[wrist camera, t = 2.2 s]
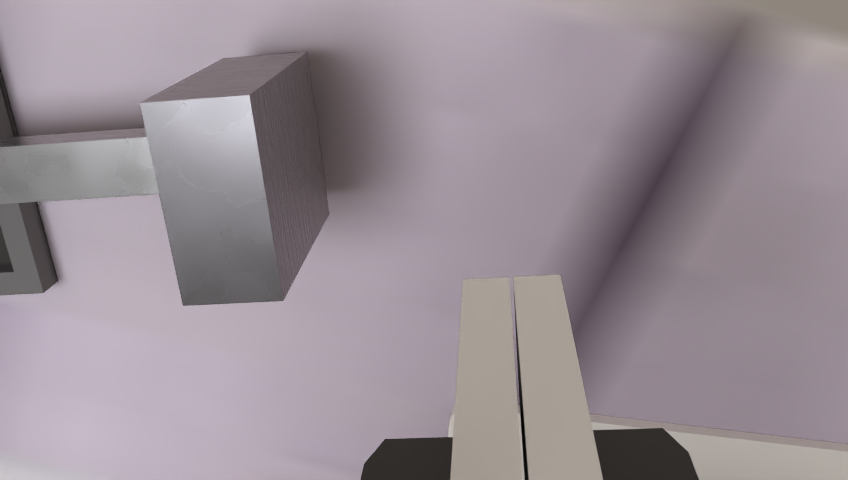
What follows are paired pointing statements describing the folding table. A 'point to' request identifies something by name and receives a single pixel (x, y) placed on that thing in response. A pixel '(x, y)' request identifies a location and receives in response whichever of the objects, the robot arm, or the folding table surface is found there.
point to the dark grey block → (203, 174)
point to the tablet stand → (738, 451)
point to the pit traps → (21, 233)
